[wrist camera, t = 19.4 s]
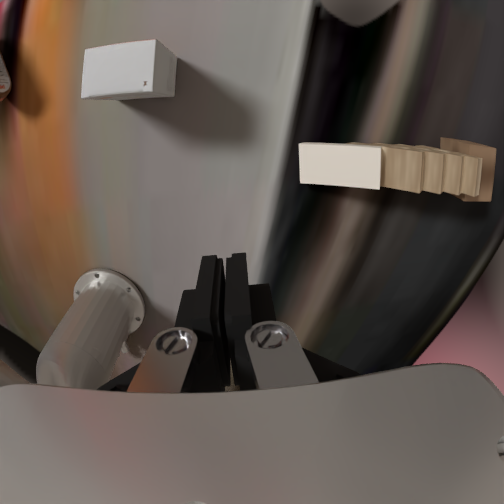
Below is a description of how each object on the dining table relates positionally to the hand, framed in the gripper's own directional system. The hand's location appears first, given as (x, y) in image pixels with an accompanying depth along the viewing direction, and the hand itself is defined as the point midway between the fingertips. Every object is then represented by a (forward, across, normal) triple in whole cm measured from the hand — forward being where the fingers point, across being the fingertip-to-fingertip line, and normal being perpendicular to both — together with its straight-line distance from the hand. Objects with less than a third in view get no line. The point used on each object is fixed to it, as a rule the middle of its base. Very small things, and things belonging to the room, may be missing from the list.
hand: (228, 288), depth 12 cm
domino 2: (+28, -15, 0) cm, 32 cm away
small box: (+29, +10, -13) cm, 34 cm away
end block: (+29, -34, 0) cm, 45 cm away
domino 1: (+28, -9, 0) cm, 30 cm away
